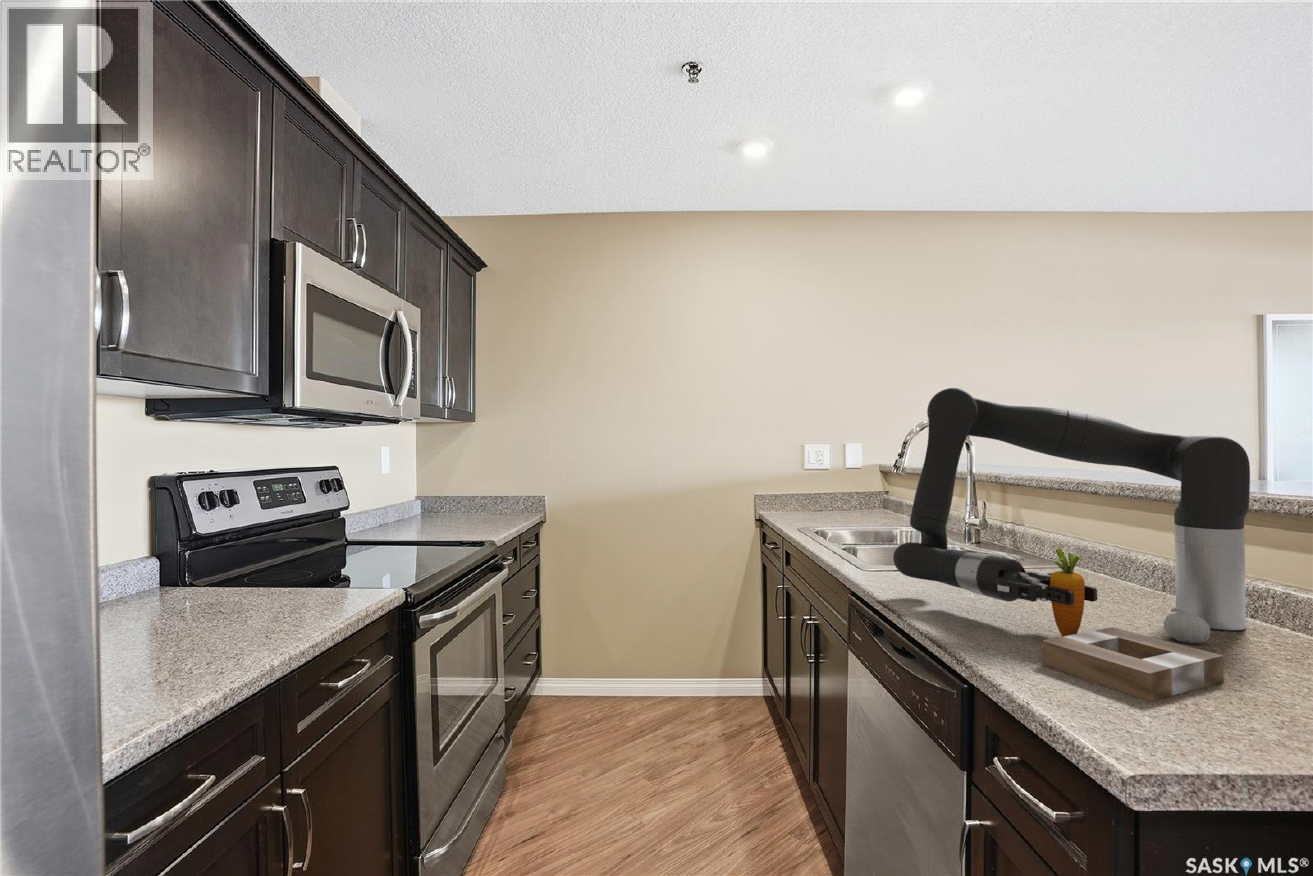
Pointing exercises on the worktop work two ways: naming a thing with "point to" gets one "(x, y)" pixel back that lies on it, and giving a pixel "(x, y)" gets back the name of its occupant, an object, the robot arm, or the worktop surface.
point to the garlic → (1186, 627)
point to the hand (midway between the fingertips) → (1083, 596)
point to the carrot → (1067, 579)
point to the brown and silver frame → (1133, 662)
